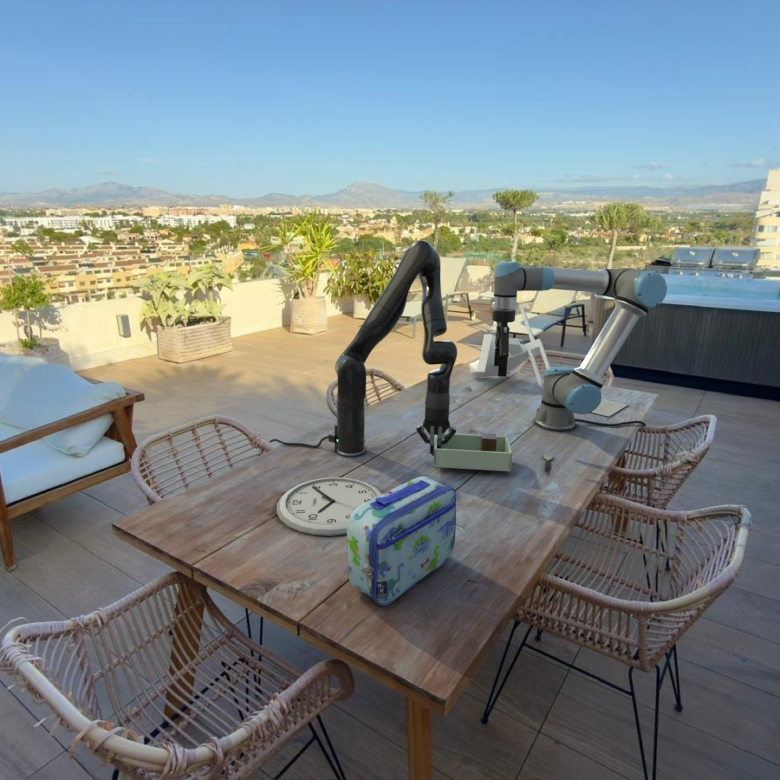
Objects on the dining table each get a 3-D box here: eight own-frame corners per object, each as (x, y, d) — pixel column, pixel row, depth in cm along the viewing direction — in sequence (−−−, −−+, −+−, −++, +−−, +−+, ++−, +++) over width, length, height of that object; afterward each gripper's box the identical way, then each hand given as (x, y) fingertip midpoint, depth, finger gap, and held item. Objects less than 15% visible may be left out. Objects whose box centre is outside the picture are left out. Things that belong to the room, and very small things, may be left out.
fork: (540, 473, 163) (541, 467, 163) (544, 453, 178) (545, 448, 177) (549, 474, 162) (550, 468, 162) (552, 454, 177) (553, 449, 176)
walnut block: (493, 456, 168) (495, 433, 166) (495, 462, 164) (496, 439, 162) (479, 456, 169) (481, 433, 166) (480, 462, 164) (482, 438, 162)
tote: (505, 453, 172) (507, 436, 171) (510, 471, 160) (512, 453, 158) (434, 449, 175) (435, 432, 173) (433, 467, 162) (434, 449, 160)
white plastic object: (490, 419, 265) (470, 397, 240) (471, 347, 287) (451, 319, 262) (561, 395, 253) (548, 369, 228) (536, 321, 275) (521, 290, 250)
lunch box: (376, 619, 101) (377, 524, 95) (340, 592, 109) (339, 502, 102) (459, 562, 119) (465, 479, 113) (424, 542, 126) (427, 463, 120)
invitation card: (608, 416, 214) (573, 407, 224) (608, 416, 214) (573, 408, 224) (628, 404, 229) (594, 396, 238) (628, 405, 229) (594, 397, 238)
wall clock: (392, 527, 129) (268, 531, 127) (391, 533, 130) (269, 537, 127) (383, 473, 158) (282, 475, 155) (383, 478, 158) (282, 480, 156)
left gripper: (458, 401, 166) (456, 451, 171) (416, 399, 167) (414, 449, 172) (459, 409, 158) (456, 461, 164) (415, 407, 160) (413, 458, 165)
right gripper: (489, 303, 186) (486, 361, 192) (496, 315, 162) (492, 380, 168) (510, 304, 185) (506, 362, 191) (520, 315, 161) (515, 381, 168)
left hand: (435, 454), depth 168 cm, fingers closed on tote, 1 cm apart
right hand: (499, 371), depth 180 cm, fingers open, 13 cm apart
